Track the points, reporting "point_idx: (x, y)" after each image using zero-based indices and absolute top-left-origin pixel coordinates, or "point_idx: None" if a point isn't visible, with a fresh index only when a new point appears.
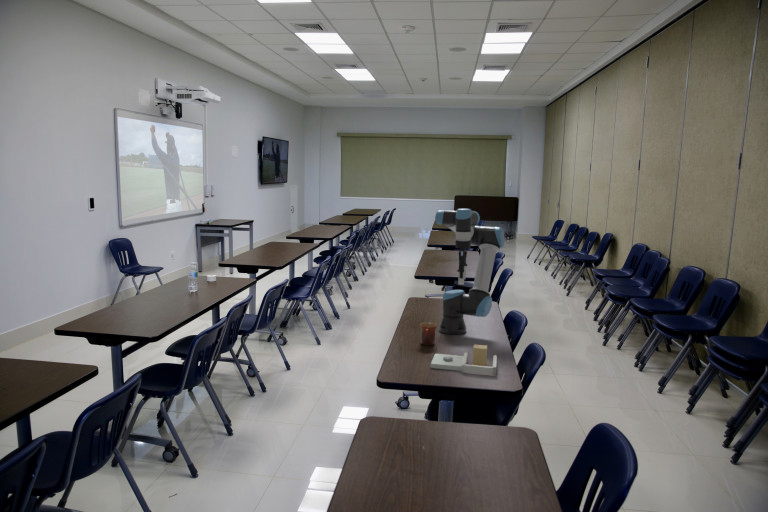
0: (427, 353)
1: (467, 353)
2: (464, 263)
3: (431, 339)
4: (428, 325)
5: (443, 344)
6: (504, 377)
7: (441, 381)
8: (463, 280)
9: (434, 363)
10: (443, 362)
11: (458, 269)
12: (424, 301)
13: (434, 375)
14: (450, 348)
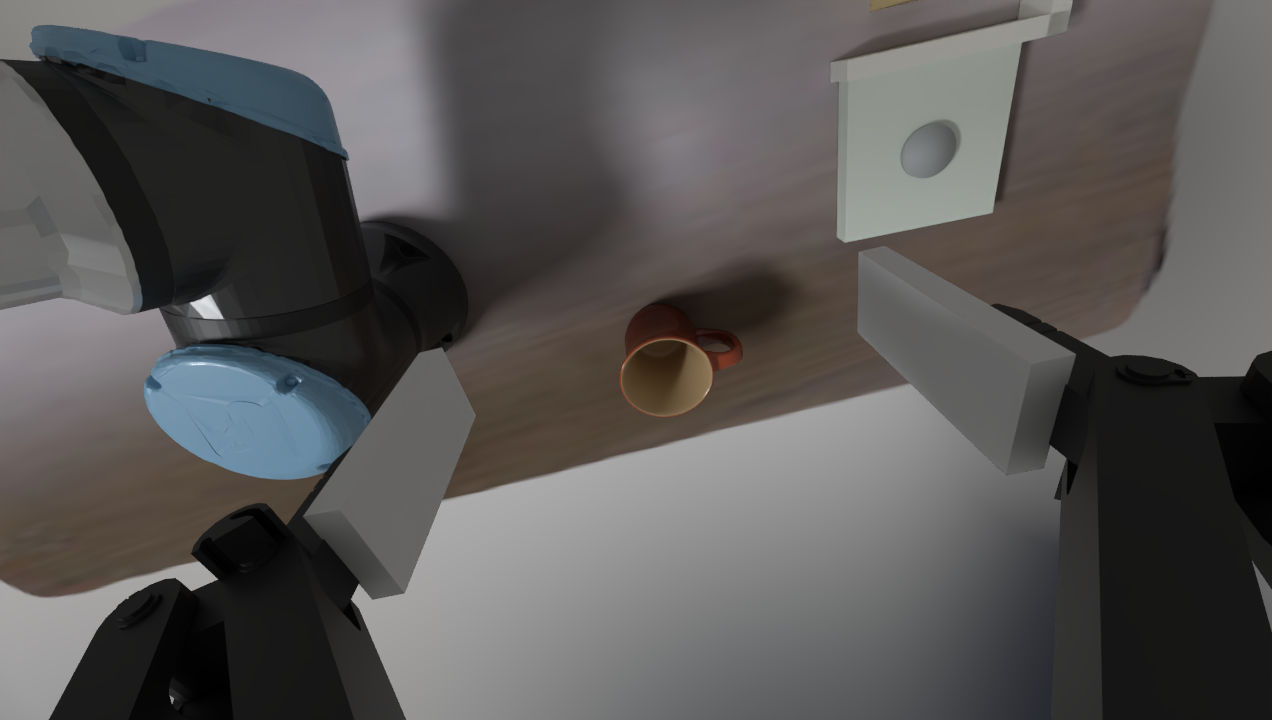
0: (790, 286)
1: (860, 58)
2: (331, 613)
3: (685, 320)
4: (630, 381)
5: (635, 263)
6: None
7: (1151, 100)
8: (925, 280)
9: (988, 197)
10: (969, 160)
11: (1268, 498)
12: (47, 556)
13: (1073, 158)
14: (680, 211)
